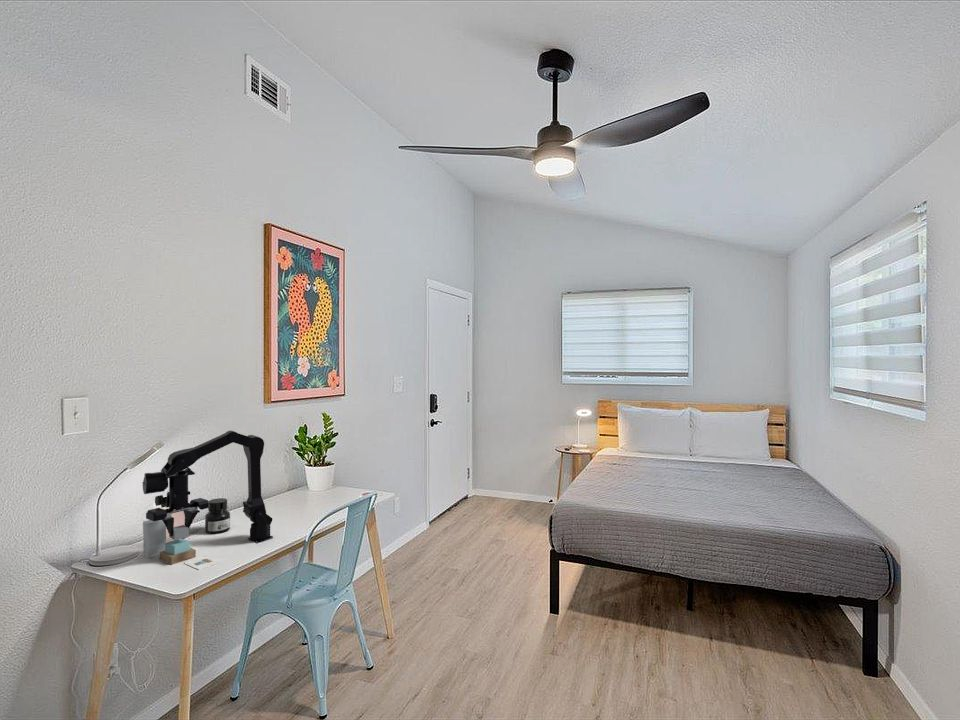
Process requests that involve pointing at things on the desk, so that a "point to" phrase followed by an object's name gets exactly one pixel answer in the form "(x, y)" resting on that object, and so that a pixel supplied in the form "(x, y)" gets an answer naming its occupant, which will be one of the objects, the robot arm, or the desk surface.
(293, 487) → the desk surface
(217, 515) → the ink bottle
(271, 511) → the desk surface
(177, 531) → the grey block
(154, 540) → the skincare box
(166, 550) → the teal block
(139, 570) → the desk surface
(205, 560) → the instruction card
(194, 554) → the base block
